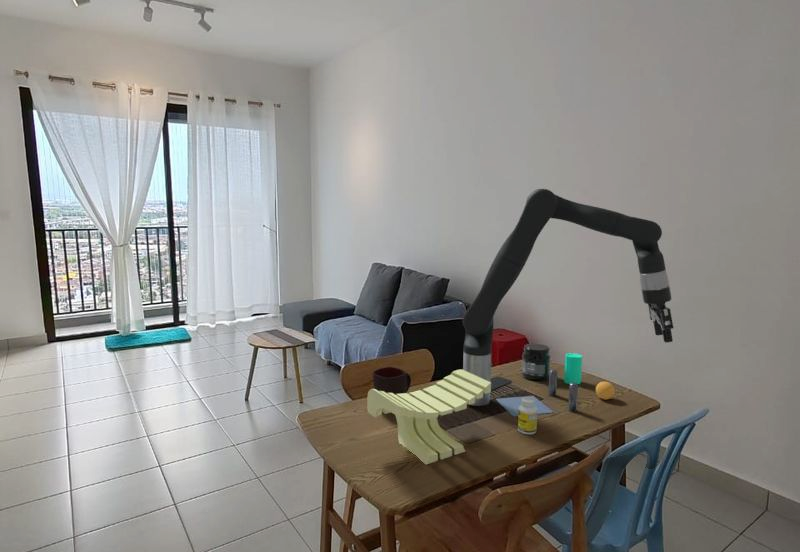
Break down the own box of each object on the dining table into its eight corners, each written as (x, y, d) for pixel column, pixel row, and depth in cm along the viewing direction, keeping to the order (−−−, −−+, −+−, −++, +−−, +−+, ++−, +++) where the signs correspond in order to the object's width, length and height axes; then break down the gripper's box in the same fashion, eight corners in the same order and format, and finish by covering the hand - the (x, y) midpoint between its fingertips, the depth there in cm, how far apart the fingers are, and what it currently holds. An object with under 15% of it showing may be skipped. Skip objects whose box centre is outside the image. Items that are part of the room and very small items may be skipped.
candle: (582, 385, 182) (583, 354, 180) (565, 384, 183) (566, 353, 181) (579, 379, 187) (581, 349, 186) (563, 378, 189) (564, 348, 187)
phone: (513, 381, 185) (489, 390, 175) (513, 383, 185) (489, 393, 175) (497, 376, 191) (472, 385, 181) (497, 378, 191) (472, 387, 181)
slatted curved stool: (453, 422, 151) (455, 366, 148) (489, 443, 137) (491, 382, 135) (367, 447, 135) (367, 385, 133) (398, 474, 122) (398, 405, 119)
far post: (550, 396, 171) (551, 372, 169) (547, 394, 173) (548, 369, 172) (557, 396, 171) (558, 371, 170) (553, 393, 174) (555, 369, 172)
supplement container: (544, 372, 196) (546, 343, 194) (553, 381, 186) (554, 350, 184) (518, 372, 196) (519, 343, 194) (525, 381, 185) (526, 351, 184)
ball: (601, 402, 165) (603, 385, 165) (591, 396, 171) (592, 379, 170) (617, 401, 167) (618, 384, 166) (607, 394, 172) (608, 378, 172)
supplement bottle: (514, 428, 147) (515, 397, 145) (529, 425, 149) (530, 394, 147) (524, 436, 142) (526, 403, 140) (540, 433, 144) (541, 401, 142)
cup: (368, 407, 162) (368, 372, 160) (398, 395, 171) (399, 362, 170) (388, 416, 155) (388, 379, 153) (419, 404, 164) (419, 369, 163)
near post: (571, 412, 158) (572, 385, 157) (566, 409, 160) (568, 382, 159) (578, 411, 158) (579, 385, 157) (574, 408, 161) (575, 382, 160)
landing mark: (512, 416, 155) (512, 415, 155) (495, 399, 168) (495, 398, 168) (553, 412, 158) (553, 412, 158) (533, 396, 171) (533, 395, 171)
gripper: (635, 285, 155) (644, 334, 156) (648, 292, 141) (657, 346, 143) (661, 280, 153) (669, 330, 155) (676, 287, 140) (685, 342, 141)
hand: (663, 338), depth 149 cm, fingers open, 8 cm apart
